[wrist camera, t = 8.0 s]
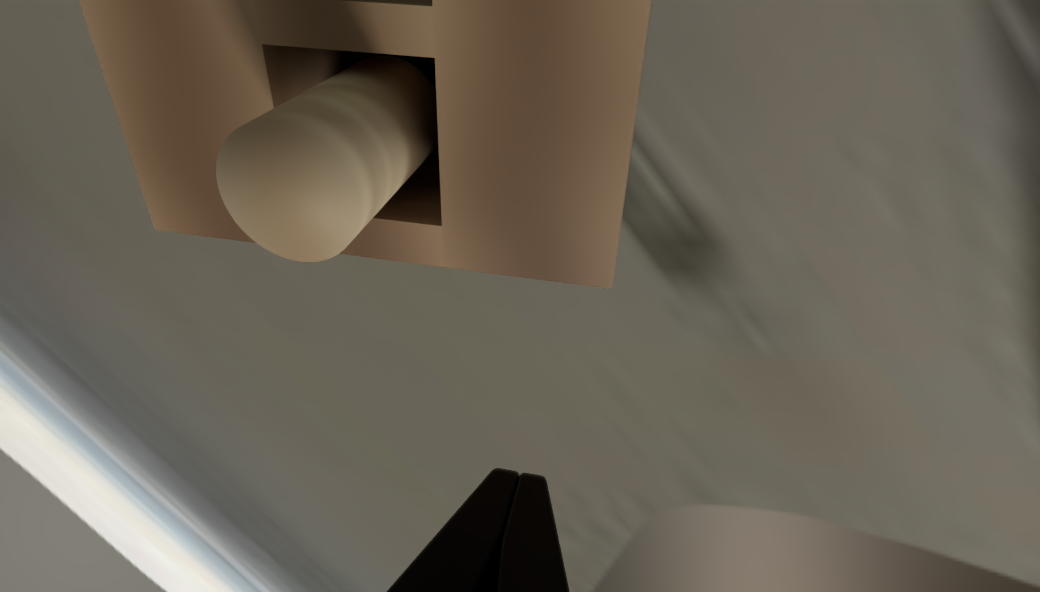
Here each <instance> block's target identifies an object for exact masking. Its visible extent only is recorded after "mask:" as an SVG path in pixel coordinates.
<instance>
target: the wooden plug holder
mask: <svg viewBox="0 0 1040 592" xmlns="http://www.w3.org/2000/svg"><path fill="white" fill-rule="evenodd" d="M651 1H652V0H79V2H80V5H81V8H82V11H83V14H84V17H85V20H86V23H87V26H88V29H89V32H90V36H91V39H92V42H93V45H94V48H95V51H96V54H97V57H98V60H99V63H100V66H101V69H102V72H103V75H104V78H105V81H106V84H107V87H108V90H109V93H110V96H111V99H112V102H113V105H114V108H115V111H116V114H117V117H118V120H119V123H120V126H121V129H122V132H123V135H124V138H125V141H126V144H127V147H128V150H129V153H130V156H131V159H132V162H133V165H134V168H135V171H136V174H137V177H138V180H139V183H140V186H141V189H142V193H143V196H144V199H145V202H146V205H147V208H148V211H149V214H150V217H151V220H152V223H153V226H154V229H155V230H161V231H168V232H176V233H184V234H191V235H199V236H207V237H215V238H222V239H230V240H238V241H246V242H253V243H256V242H255V241H254V240H252V239H251V238H250V237H249V236H248V235H247V234H246V233H245V232H244V231H243V230H242V229H241V228H240V227H239V226H238V225H237V223H236V222H235V221H234V219H233V218H232V216H231V215H230V213H229V212H228V210H227V208H226V206H225V204H224V202H223V200H222V198H221V195H220V192H219V188H218V184H217V178H216V162H217V157H218V153H219V150H220V148H221V146H222V144H223V142H224V141H225V139H226V138H227V137H228V136H229V135H230V134H231V133H232V132H233V131H234V130H236V129H237V128H238V127H240V126H242V125H244V124H246V123H248V122H250V121H251V120H253V119H255V118H257V117H259V116H261V115H262V114H264V113H266V112H268V111H270V110H272V109H273V108H275V107H277V106H279V105H281V104H283V103H284V102H286V101H288V100H290V99H292V98H294V97H295V96H297V95H299V94H301V93H303V92H305V91H306V90H308V89H310V88H312V87H314V86H316V85H317V84H319V83H321V82H323V81H325V80H327V79H328V78H330V77H332V76H334V75H336V74H338V73H340V72H341V71H343V70H345V69H347V68H349V67H351V66H352V65H354V61H353V52H352V51H354V52H367V53H380V54H392V55H405V56H418V57H430V58H435V76H436V99H437V122H438V146H439V157H437V156H428V157H427V158H426V159H425V161H424V162H423V163H422V164H421V165H420V166H419V167H418V168H417V169H416V171H415V172H414V173H413V174H412V175H411V176H410V177H409V178H408V179H407V181H406V182H405V183H404V184H403V185H402V186H401V187H400V188H399V189H398V191H397V192H396V193H395V194H394V195H393V196H392V197H391V198H390V199H389V201H388V202H387V203H386V204H385V205H384V206H383V207H382V208H381V209H380V210H379V212H378V213H377V214H376V215H375V216H374V217H373V218H372V219H371V220H370V222H369V223H368V224H367V225H366V226H365V227H364V228H363V229H362V230H361V232H360V233H359V234H358V235H357V236H356V237H355V238H354V239H353V240H352V242H351V243H350V244H349V245H348V246H347V247H346V248H345V249H344V250H343V251H342V252H340V253H339V254H346V255H354V256H362V257H369V258H377V259H385V260H393V261H400V262H408V263H416V264H424V265H431V266H439V267H447V268H455V269H462V270H470V271H478V272H485V273H493V274H501V275H509V276H516V277H524V278H532V279H540V280H547V281H555V282H563V283H571V284H578V285H586V286H594V287H602V288H609V289H612V287H613V280H614V272H615V265H616V258H617V250H618V243H619V236H620V228H621V221H622V214H623V206H624V199H625V192H626V184H627V177H628V170H629V162H630V155H631V148H632V140H633V133H634V125H635V118H636V111H637V103H638V96H639V89H640V81H641V74H642V67H643V59H644V52H645V45H646V37H647V30H648V23H649V15H650V8H651Z"/></svg>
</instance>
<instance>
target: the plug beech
mask: <svg viewBox="0 0 1040 592" xmlns="http://www.w3.org/2000/svg"><path fill="white" fill-rule="evenodd" d="M437 145H438V122H437V99H436V90H435V88H434V86H433V85H432V83H431V82H430V81H429V79H428V78H427V77H426V76H425V75H424V74H423V73H422V72H421V71H420V70H419V69H417V68H416V67H415V66H413V65H412V64H410V63H408V62H406V61H404V60H402V59H399V58H396V57H391V56H373V57H369V58H366V59H364V60H362V61H360V62H358V63H356V64H354V65H352V66H351V67H349V68H347V69H345V70H343V71H341V72H340V73H338V74H336V75H334V76H332V77H330V78H328V79H327V80H325V81H323V82H321V83H319V84H317V85H316V86H314V87H312V88H310V89H308V90H306V91H305V92H303V93H301V94H299V95H297V96H295V97H294V98H292V99H290V100H288V101H286V102H284V103H283V104H281V105H279V106H277V107H275V108H273V109H272V110H270V111H268V112H266V113H264V114H262V115H261V116H259V117H257V118H255V119H253V120H251V121H250V122H248V123H246V124H244V125H242V126H240V127H238V128H237V129H236V130H234V131H233V132H232V133H231V134H230V135H229V136H228V137H227V138H226V139H225V141H224V142H223V144H222V146H221V148H220V150H219V153H218V157H217V162H216V178H217V184H218V188H219V192H220V195H221V198H222V200H223V202H224V204H225V206H226V208H227V210H228V212H229V213H230V215H231V216H232V218H233V219H234V221H235V222H236V223H237V225H238V226H239V227H240V228H241V229H242V230H243V231H244V232H245V233H246V234H247V235H248V236H249V237H250V238H251V239H252V240H254V241H255V242H256V243H257V244H259V245H260V246H262V247H263V248H265V249H267V250H268V251H270V252H272V253H274V254H276V255H279V256H281V257H284V258H287V259H290V260H295V261H301V262H317V261H323V260H326V259H329V258H332V257H334V256H336V255H337V254H339V253H340V252H342V251H343V250H344V249H345V248H346V247H347V246H348V245H349V244H350V243H351V242H352V240H353V239H354V238H355V237H356V236H357V235H358V234H359V233H360V232H361V230H362V229H363V228H364V227H365V226H366V225H367V224H368V223H369V222H370V220H371V219H372V218H373V217H374V216H375V215H376V214H377V213H378V212H379V210H380V209H381V208H382V207H383V206H384V205H385V204H386V203H387V202H388V201H389V199H390V198H391V197H392V196H393V195H394V194H395V193H396V192H397V191H398V189H399V188H400V187H401V186H402V185H403V184H404V183H405V182H406V181H407V179H408V178H409V177H410V176H411V175H412V174H413V173H414V172H415V171H416V169H417V168H418V167H419V166H420V165H421V164H422V163H423V162H424V161H425V159H426V158H427V157H428V156H429V155H430V154H431V153H432V152H433V151H434V149H435V148H436V146H437Z"/></svg>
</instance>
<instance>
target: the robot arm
mask: <svg viewBox="0 0 1040 592" xmlns="http://www.w3.org/2000/svg"><path fill="white" fill-rule="evenodd" d="M387 592H569V587H568V582H567V577H566V572H565V568H564V563H563V558H562V553H561V548H560V544H559V539H558V534H557V529H556V524H555V519H554V515H553V510H552V505H551V500H550V495H549V491H548V486H547V481H546V479H545V477H543V476H540V475H535V474H529V473H522V474H521V475H520V476H519V473H518V472H516V471H512V470H506V469H501V468H496V469H494V470H492V471H491V472H490V473H489V475H488V476H487V477H486V478H485V479H484V480H483V481H482V483H481V484H480V485H479V486H478V487H477V488H476V490H475V491H474V492H473V493H472V494H471V495H470V496H469V498H468V499H467V500H466V501H465V502H464V503H463V504H462V506H461V507H460V508H459V509H458V510H457V511H456V513H455V514H454V515H453V516H452V517H451V518H450V519H449V521H448V522H447V523H446V524H445V525H444V526H443V527H442V529H441V530H440V531H439V532H438V533H437V534H436V536H435V537H434V538H433V539H432V540H431V541H430V542H429V544H428V545H427V546H426V547H425V548H424V549H423V550H422V552H421V553H420V554H419V555H418V556H417V557H416V559H415V560H414V561H413V562H412V563H411V564H410V565H409V567H408V568H407V569H406V570H405V571H404V572H403V573H402V575H401V576H400V577H399V578H398V579H397V580H396V582H395V583H394V584H393V585H392V586H391V587H390V588H389V590H388V591H387Z"/></svg>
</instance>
